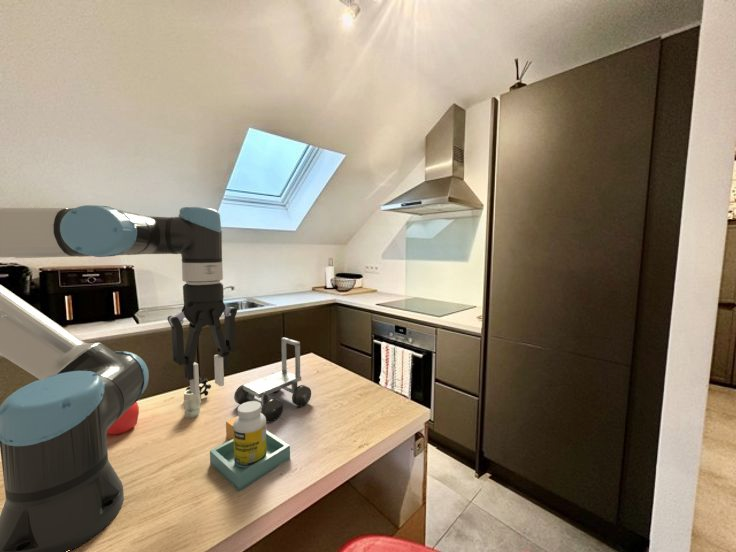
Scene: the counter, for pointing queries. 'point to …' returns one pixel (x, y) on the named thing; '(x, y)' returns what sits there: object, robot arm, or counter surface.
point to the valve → (194, 399)
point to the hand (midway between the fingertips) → (207, 388)
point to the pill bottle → (249, 435)
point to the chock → (230, 428)
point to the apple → (125, 421)
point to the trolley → (276, 387)
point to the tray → (245, 476)
